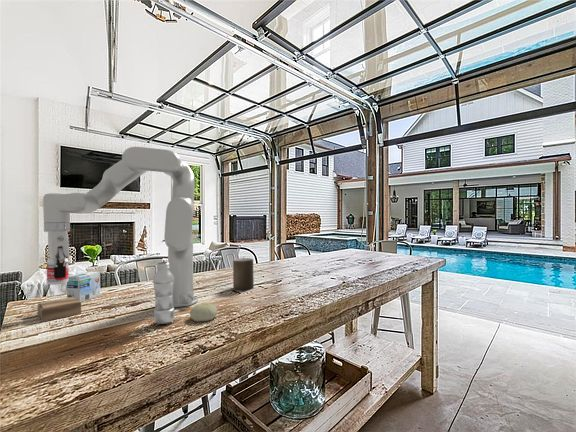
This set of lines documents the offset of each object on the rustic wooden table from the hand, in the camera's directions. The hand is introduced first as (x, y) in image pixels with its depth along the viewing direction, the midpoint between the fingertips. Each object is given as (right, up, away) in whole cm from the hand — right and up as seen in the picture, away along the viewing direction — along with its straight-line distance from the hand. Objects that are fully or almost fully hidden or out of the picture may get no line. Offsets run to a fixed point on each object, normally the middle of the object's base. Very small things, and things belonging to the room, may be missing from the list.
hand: (58, 275), depth 106 cm
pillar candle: (+63, -13, +34) cm, 72 cm away
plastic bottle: (+43, -14, -10) cm, 46 cm away
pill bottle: (0, -3, 0) cm, 3 cm away
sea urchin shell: (+55, -14, -6) cm, 57 cm away
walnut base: (0, -14, 0) cm, 14 cm away
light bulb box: (-4, -14, +19) cm, 24 cm away
